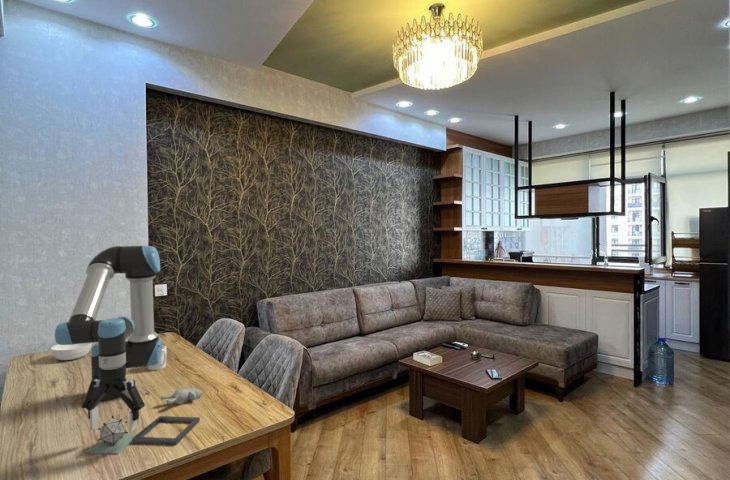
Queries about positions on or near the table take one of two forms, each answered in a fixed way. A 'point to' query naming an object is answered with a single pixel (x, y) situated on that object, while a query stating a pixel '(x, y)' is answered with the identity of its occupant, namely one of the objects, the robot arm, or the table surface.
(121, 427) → the game die
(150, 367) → the mug
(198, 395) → the grey teddy bear
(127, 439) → the pad
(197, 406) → the table surface
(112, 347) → the robot arm
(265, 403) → the table surface
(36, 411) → the table surface
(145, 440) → the socket frame
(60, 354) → the bowl
